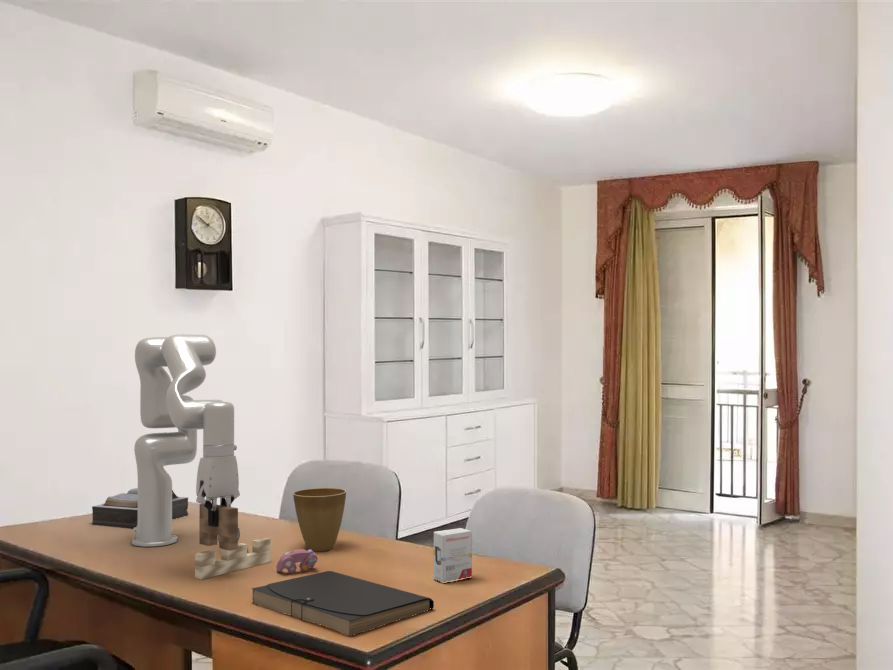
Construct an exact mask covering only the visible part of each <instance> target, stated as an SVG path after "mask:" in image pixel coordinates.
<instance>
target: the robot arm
mask: <svg viewBox="0 0 893 670" xmlns="http://www.w3.org/2000/svg"><path fill="white" fill-rule="evenodd" d="M216 355H217V349H216V345H215V343H214V340H213V339H212V338H211V337H210V336H208V335H206V334H174V335H171V336H168V337H167V336H164V337H163V336H157V337H156V336H155V337H154V336H153V337H152V336H151V337H146V338H143V339H140V340H139V341H138V342H137V344H136V346H135V349H134V361H135V366H136V370H137V373H138V376H139V382H140V393H139V394H140V397H139V398H140V399H139V400H140V401H139V404H140V407H139V408H140V411H139V413H140V423H141V424H142V426H143V427H145V428H148V429H171V428H172V429H173V428H174V429H175V428H176V429H177V431H172V432H171V431H170V432H168V431H167V432H151V433H146V434H143V435H141V436H140V437H138V438H137V439H136V441H135V442H134V448H133V450H134V458H135V463H136V472H137V473H136V474H137V488H138V526H137V528H136V527H135V528H133V529H132V532H133V533H136V534H135V535H136V536H135V537H134V538H132V539H131V545H133V546H136V547H147V548H149V547H150V548H151V547H162V546H167V545H171V544H174V543H177V541H178V536H177V535H175V534H173V520H172V490H173V480H172V477H171V475H170V474H169V473H168V471H166V469H165V468H164V467H165V466H172V465H182V464H189V463H191V462H193V461H194V460H195V458H196V456H197V450H198V430H202V433H203V434H202V436H203V437H202V442H203V443H202V445H203V446H202V457H200V458H199V463H198V466H197V474H196V484H195V485H196V486H195V491H196V492H195V493H196V500H195V501H196V503H198V504H199V505H200V504H203V505H204V506H205V507H206V510H208V525H209V526H213V527H218V511H217V510H216V509H217V505H218V499H219V503H220V504H219V505H222V506H228V507H232V505H233V503H234V501H235V500H236V499H237V498H239V497H240V495H241V494H240V491H239V485H240V482H239V480H240V479H239V477H240V476H239V468H238V467H239V466H238V462H237V456H236V455H235V451H237V449H238V447H237V445H236V444H235V405H234V404H233V403H232V402H229V401H223V400H222V399H193V398H192V396H190V395H186V394H187V393H189V392H191V391H194V390H195V389H197V388H199V387H200V386H201V385H203V383H204V382H205V379H206V376H207V374H206V369H205V367H204V366H208V365H210V364H212V363H213V362H214V361H215V359H216ZM165 367H167V369H168V371H169V374H168V371H166V369H165ZM170 375H171V376H170ZM171 378H172V380H171ZM184 394H185V395H184Z"/></svg>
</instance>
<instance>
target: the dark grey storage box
mask: <svg viewBox="0 0 893 670" xmlns="http://www.w3.org/2000/svg"><path fill="white" fill-rule="evenodd" d="M188 508H189V497H185V496H178V495H177V494H176V493H175V492H174V490H173V489H172V519H173V520H177V519H180V517H181V518H183V517H187V516H188V515H189V511H188ZM91 510H92V515H91V516H92V523H91V525H92V526H101V527H109V528H110V527H112V528H122V529H131V530H133V528H135V527H136V528H137V526H138V487H135V488H134V487H133V488H130V489H129V490H128V491H127V493H125V492H124V493H123V492H122V493H118V494H115V495H111V496H108V497H107V498H106V500H105V501H104V503H100V504H97V505H92V507H91ZM176 518H177V519H176Z"/></svg>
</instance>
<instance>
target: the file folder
mask: <svg viewBox="0 0 893 670" xmlns="http://www.w3.org/2000/svg"><path fill="white" fill-rule="evenodd" d="M251 590H252V592H251V593H252V594H251V595H252V596H251V597H252V598H251V603H252V604H256V605H258V606H260V605H261V607H263V606H264V608H266V607H267V608H266V609H269V608H270V609H269V610H272V609H273V611H275V610H276V611H275V612H277V611H278V612H277V613H280V612H282V613H281V614H283V613H286V614H285V615H287V614H290V615H289V616H290V618H291V617H292V618H293V617H294V616H296V617H295V618H297V617H299V618H298V619H300V618H301V619H300V621H301V620H302V619H304V620H302V621H305V620H307V621H306V622H308V621H310V622H309V623H311V622H314V623H313V624H315V623H318V624H321V625H324V626H327V627H329V628H328V629H330V628H332V629H331V630H333V629H334V630H333V631H335V630H337V631H338V633H339V632H341V633H340V634H342V633H343V634H342V635H345V634H347V635H346V636H348V635H349V636H350V637H353V636H355V635H354V634H357V633H360V632H363V631H366V632H368V631H367V630H370V629H373V628H376V627H379V626H381V625H384V624H387V623H390V622H393V621H396V620H399V619H403V618H406V617H409V616H412V615H415V614H418V613H421V612H424V611H427V610H430V608H431V609H432V610H433V609H434V608H435V607H434V606H435V604H434V603H435V602H434V599H432V598H431V597H427V596H424V595H420V594H416V593H413V592H409V591H405V590H401V589H398V588H395V587H391V586H387V585H383V584H380V583H376V582H373V581H369V580H366V579H362V578H357V577H354V576H351V575H347V574H344V573H340V572H336V571H334V570H325V571H322V572H317V573H312V574H308V575H307V574H306V575H304V576H303V575H302V576H299V577H294V578H290V579H285V580H282V581H281V580H280V581H276V582H272V583H271V582H270V583H268V584H265V585H262V586H256V587H252V588H251ZM430 611H431V610H430ZM427 612H428V611H427ZM424 613H425V612H424ZM421 614H422V613H421ZM292 615H294V616H292ZM418 615H419V614H418ZM415 616H416V615H415ZM412 617H413V616H412ZM409 618H410V617H409ZM406 619H407V618H406ZM403 620H404V619H403ZM399 621H400V620H399ZM396 622H397V621H396ZM393 623H394V622H393ZM318 624H317V625H318ZM390 624H391V623H390ZM321 625H320V626H321ZM387 625H388V624H387ZM324 626H323V627H324ZM384 626H385V625H384ZM327 627H326V628H327ZM381 627H382V626H381ZM379 628H380V627H379ZM376 629H377V628H376ZM373 630H374V629H373ZM337 631H336V632H337ZM370 631H371V630H370ZM363 633H364V632H363ZM360 634H361V633H360ZM352 635H353V636H352ZM357 635H358V634H357ZM349 636H348V637H349Z"/></svg>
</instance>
